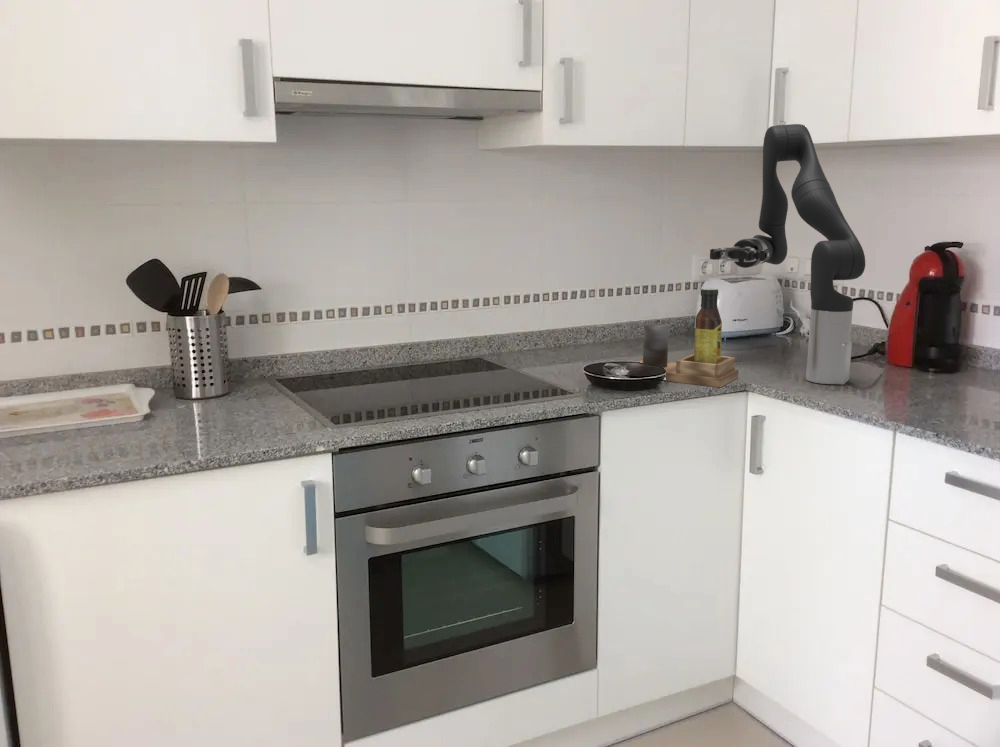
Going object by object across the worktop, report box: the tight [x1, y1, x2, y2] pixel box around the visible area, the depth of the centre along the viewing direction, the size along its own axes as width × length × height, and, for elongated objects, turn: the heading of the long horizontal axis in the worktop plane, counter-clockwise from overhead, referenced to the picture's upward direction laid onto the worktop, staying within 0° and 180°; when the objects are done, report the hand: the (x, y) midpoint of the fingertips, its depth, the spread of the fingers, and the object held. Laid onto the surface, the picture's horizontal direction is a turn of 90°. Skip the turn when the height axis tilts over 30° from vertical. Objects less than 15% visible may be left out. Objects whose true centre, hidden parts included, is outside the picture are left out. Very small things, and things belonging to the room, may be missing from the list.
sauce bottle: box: [693, 287, 723, 364], centre depth 212 cm, size 7×6×20 cm
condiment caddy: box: [636, 323, 739, 388], centre depth 216 cm, size 25×13×12 cm, turn 58°
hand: (730, 255), depth 223 cm, fingers open, 8 cm apart
